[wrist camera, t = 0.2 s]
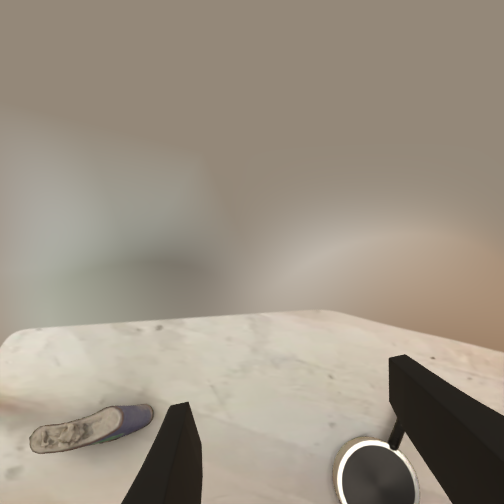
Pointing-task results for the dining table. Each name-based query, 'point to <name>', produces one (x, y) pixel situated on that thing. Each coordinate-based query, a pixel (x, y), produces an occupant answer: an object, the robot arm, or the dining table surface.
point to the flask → (91, 429)
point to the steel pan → (375, 472)
